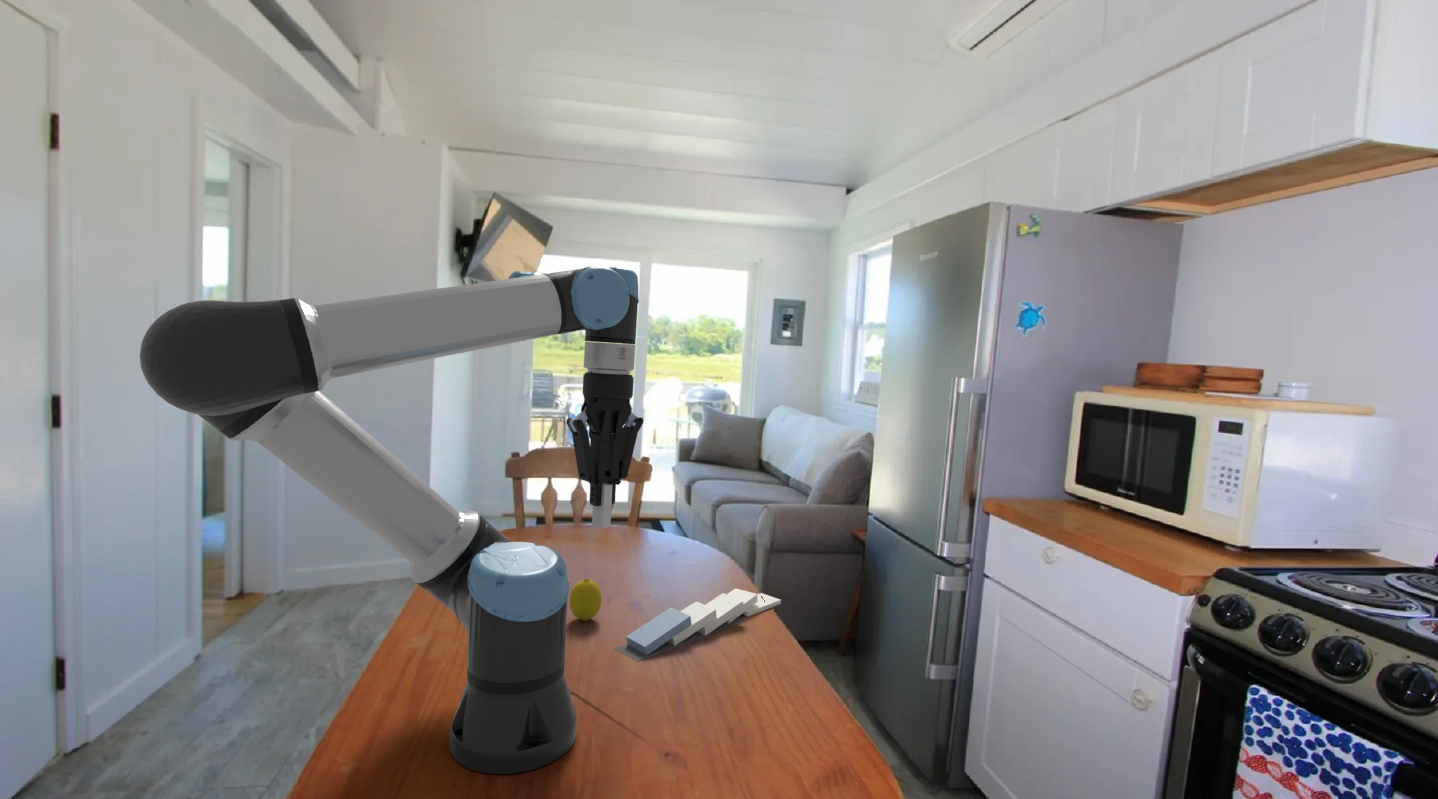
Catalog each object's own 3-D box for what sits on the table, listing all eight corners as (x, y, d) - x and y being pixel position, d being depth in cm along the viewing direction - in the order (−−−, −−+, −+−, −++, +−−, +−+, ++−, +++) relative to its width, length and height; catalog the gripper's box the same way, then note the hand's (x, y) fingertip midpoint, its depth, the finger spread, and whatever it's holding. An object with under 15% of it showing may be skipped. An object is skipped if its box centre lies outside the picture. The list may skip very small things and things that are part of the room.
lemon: (606, 622, 124) (608, 579, 124) (581, 630, 120) (582, 585, 120) (588, 613, 128) (589, 571, 127) (562, 621, 124) (564, 577, 123)
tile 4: (728, 615, 125) (757, 594, 133) (706, 608, 128) (735, 588, 136) (729, 623, 125) (757, 601, 134) (706, 616, 128) (735, 596, 136)
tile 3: (704, 627, 119) (742, 600, 126) (684, 618, 123) (723, 592, 130) (705, 635, 120) (743, 608, 127) (685, 626, 123) (724, 600, 130)
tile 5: (748, 612, 129) (780, 599, 137) (728, 604, 133) (761, 592, 140) (747, 620, 130) (780, 607, 137) (727, 612, 133) (760, 600, 140)
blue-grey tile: (645, 646, 111) (690, 616, 117) (625, 636, 114) (670, 607, 121) (646, 655, 111) (691, 624, 118) (627, 644, 114) (672, 615, 121)
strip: (637, 663, 109) (638, 661, 109) (614, 650, 113) (614, 648, 113) (747, 622, 128) (747, 620, 128) (724, 612, 132) (724, 610, 132)
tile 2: (673, 637, 115) (715, 609, 121) (654, 627, 118) (696, 601, 125) (674, 645, 115) (717, 617, 122) (655, 635, 119) (697, 609, 125)
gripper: (587, 372, 97) (579, 537, 99) (658, 374, 107) (649, 525, 108) (557, 369, 103) (550, 526, 104) (627, 371, 112) (619, 515, 113)
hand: (601, 525), depth 106 cm, fingers closed
